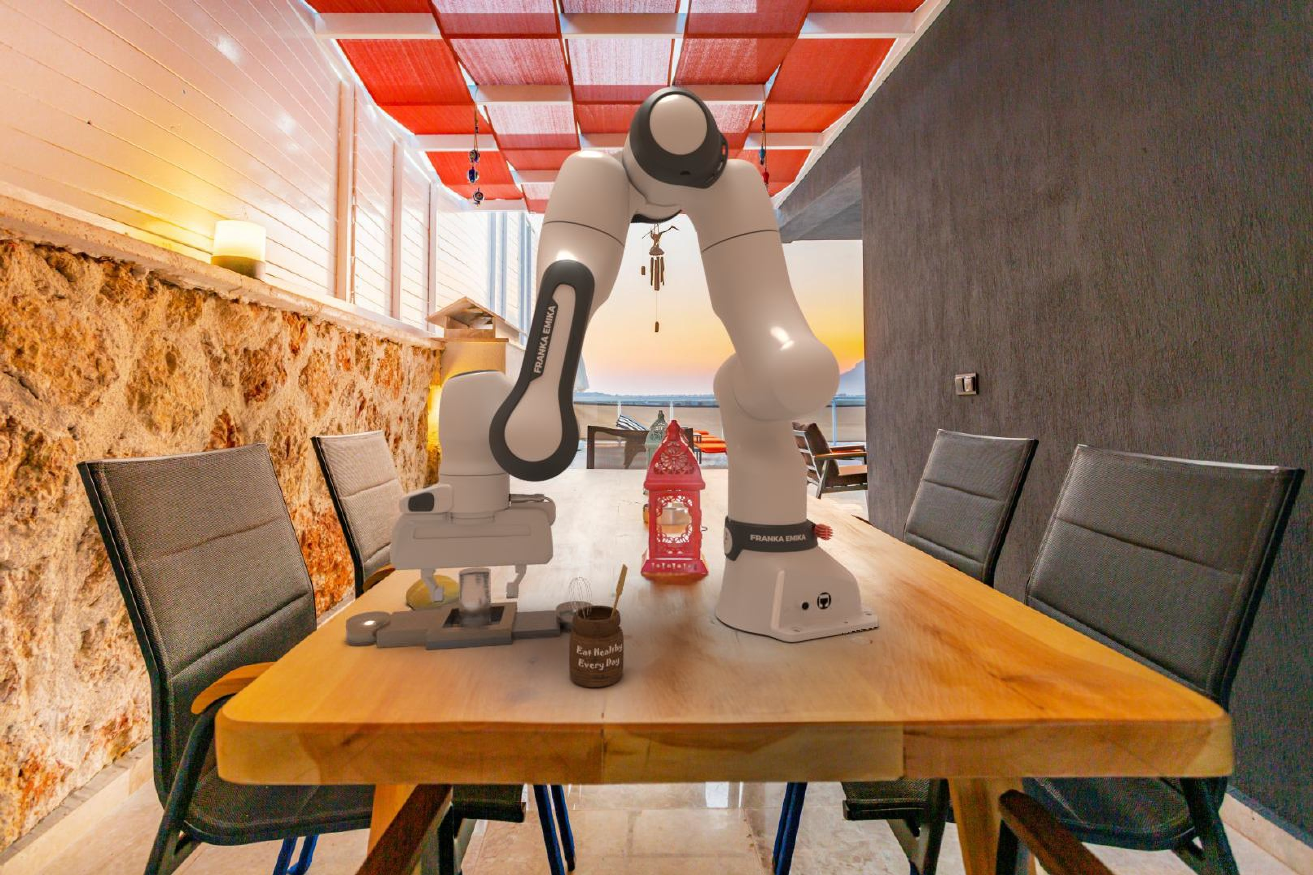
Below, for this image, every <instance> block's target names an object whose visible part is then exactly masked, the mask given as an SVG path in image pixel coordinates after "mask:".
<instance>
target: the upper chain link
mask: <svg viewBox="0 0 1313 875" xmlns="http://www.w3.org/2000/svg"><path fill="white" fill-rule="evenodd" d="M516 611H517V612H518V601H504V602H491V614H494V613H503V615H502V619H501V620H500V623H499V624H491V625H486V626H469V627H459V626H456V627H455V626H454V627H453V626H451V627H450V628H446V627H447V625H448V623H449V621H450V619H451V617H452V616H458V615H459V605H443V606H442V608H441V609H435V610H400V611H398V610H397V611H392V613H390V612H387V611H381V610H380V611H379V610H377V611H367V612H362V613H358V614H355V615H353V616H351V617H349V618H348V619H346V621H345V627H346V628H345V633H346V634H345V635H346V636H345V637H346V638H345V639H346V640H345V641H346V644H347V645H349V646H354V647H355V646H356V647H361V646H365V647H366V646H371V645H375V644H376V649H383V648H385V649H386V648H398V647H413V646H414V647H415V646H426V642H429V641H445V640H461V639H477V638H493V637H509V636H511V635H512V630H513V625H514V621H515V616H516Z"/></svg>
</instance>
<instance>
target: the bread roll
mask: <svg viewBox="0 0 1313 875" xmlns="http://www.w3.org/2000/svg"><path fill="white" fill-rule="evenodd" d="M433 577H434V579H435V580H436V582H437V584H438V586H441V585H445V591H444V593H445V599H444V600H443V602H435V603H431V602H430V590H429V589H428V587H427V586H426V584H425V583H424V582H423V580H422V579H421V578H420V579H419V580H416V581H415V582H413V584H411V586H410V587H409V588H408V589H407V591H406V593H405V601H406V602H407V604H408V605H409V606H410V607H412V609H413V611H416V610H435V609H441V608H442V606H443V605H459V582H457V581H456V580H454V579H453V578H451V577H449V576H447V575H443V574H433Z"/></svg>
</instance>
